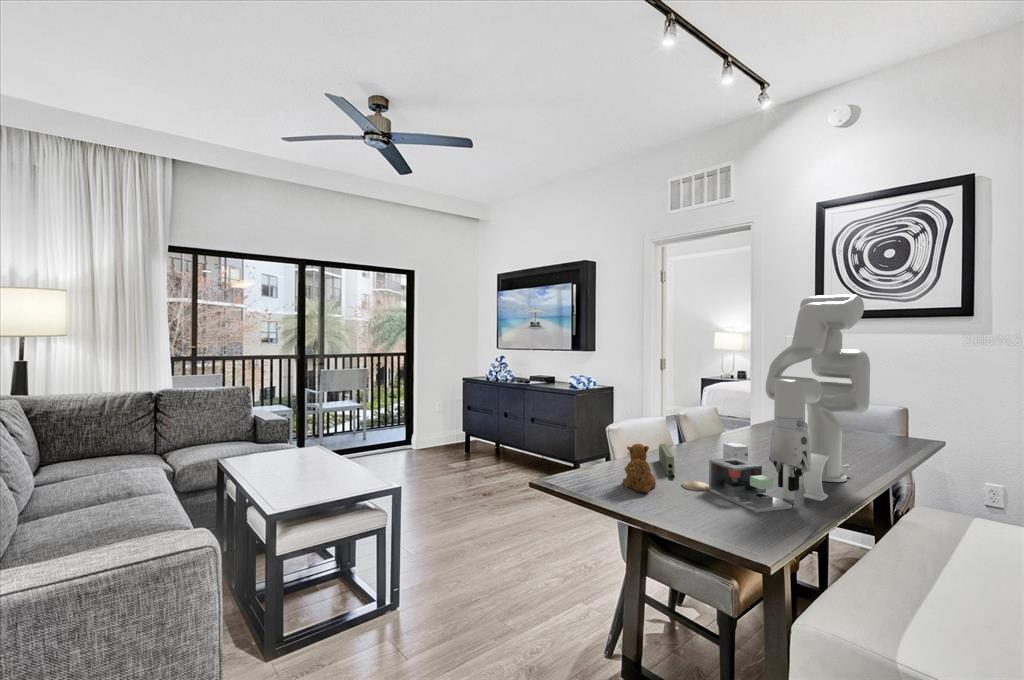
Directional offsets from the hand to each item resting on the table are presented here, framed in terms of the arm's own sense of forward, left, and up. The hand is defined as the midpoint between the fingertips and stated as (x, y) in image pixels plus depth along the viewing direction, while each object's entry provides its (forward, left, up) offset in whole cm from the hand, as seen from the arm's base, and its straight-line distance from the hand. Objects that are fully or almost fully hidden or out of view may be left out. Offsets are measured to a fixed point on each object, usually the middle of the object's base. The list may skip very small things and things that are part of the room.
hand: (788, 488), depth 137 cm
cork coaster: (+16, -19, -4) cm, 25 cm away
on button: (+9, -1, 0) cm, 9 cm away
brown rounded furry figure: (+34, -22, -4) cm, 41 cm away
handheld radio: (+13, -38, -4) cm, 41 cm away
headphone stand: (-11, -1, -4) cm, 12 cm away
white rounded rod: (0, 0, -4) cm, 4 cm away
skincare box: (-15, -37, -4) cm, 40 cm away
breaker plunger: (+9, -11, 0) cm, 14 cm away
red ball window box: (+9, -6, -4) cm, 12 cm away
